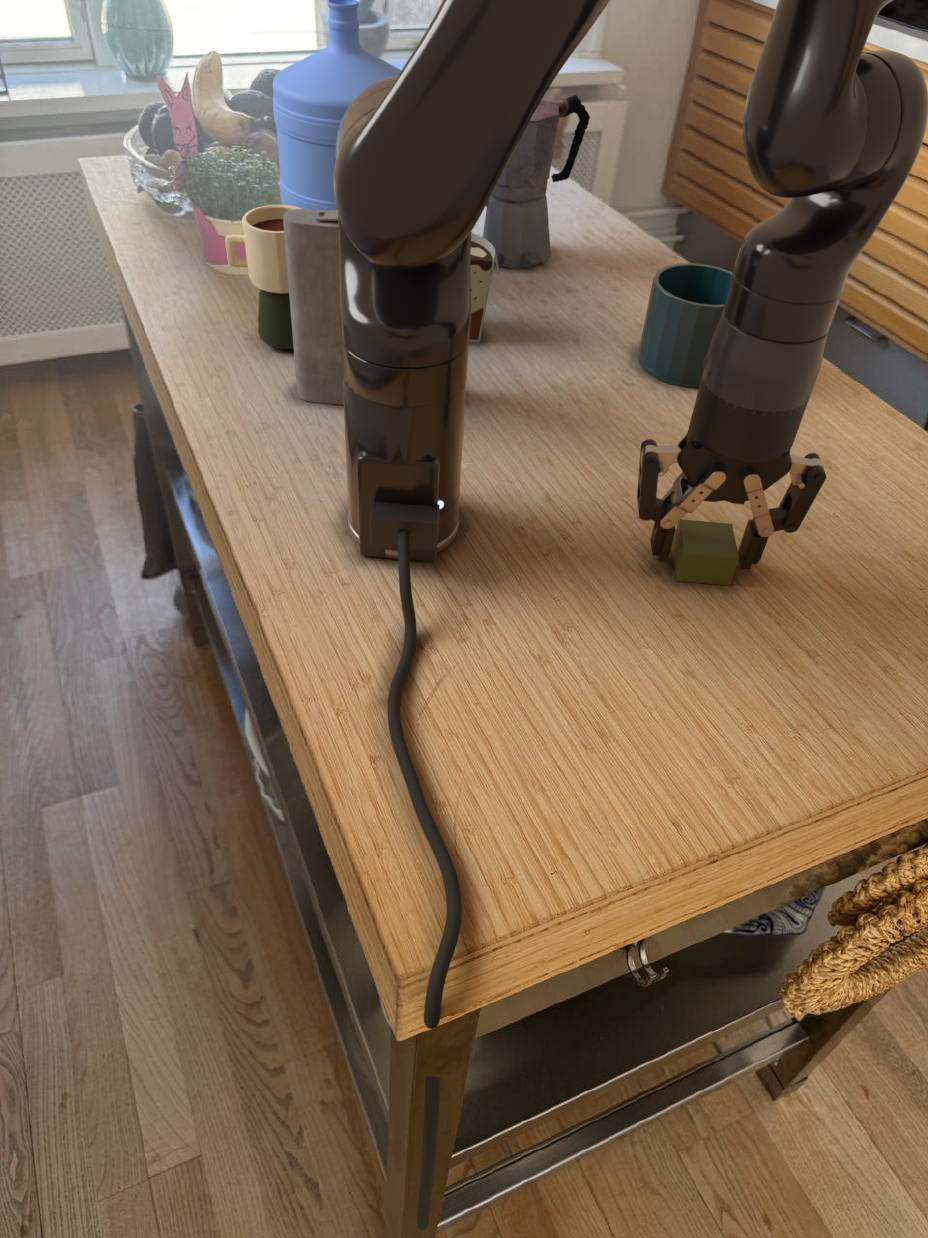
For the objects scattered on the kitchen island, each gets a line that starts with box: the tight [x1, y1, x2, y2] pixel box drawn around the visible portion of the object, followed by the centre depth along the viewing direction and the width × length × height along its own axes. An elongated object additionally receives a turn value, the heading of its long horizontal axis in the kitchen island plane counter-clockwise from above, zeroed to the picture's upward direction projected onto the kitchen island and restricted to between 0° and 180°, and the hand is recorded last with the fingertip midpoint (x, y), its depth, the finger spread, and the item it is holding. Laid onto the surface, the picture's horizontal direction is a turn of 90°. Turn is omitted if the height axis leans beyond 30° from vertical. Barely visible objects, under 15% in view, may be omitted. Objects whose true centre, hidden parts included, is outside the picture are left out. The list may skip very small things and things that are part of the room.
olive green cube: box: [671, 518, 739, 586], centre depth 76 cm, size 4×4×3 cm
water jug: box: [272, 0, 402, 211], centre depth 104 cm, size 16×16×28 cm
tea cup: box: [637, 262, 733, 388], centre depth 98 cm, size 10×10×9 cm
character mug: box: [224, 204, 302, 350], centre depth 96 cm, size 11×7×13 cm, turn 93°
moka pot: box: [482, 94, 591, 269], centre depth 113 cm, size 10×15×20 cm, turn 115°
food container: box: [469, 232, 500, 344], centre depth 101 cm, size 12×6×10 cm, turn 84°
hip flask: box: [283, 209, 344, 406], centre depth 86 cm, size 16×4×20 cm, turn 93°
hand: (702, 559), depth 77 cm, fingers open, 6 cm apart
